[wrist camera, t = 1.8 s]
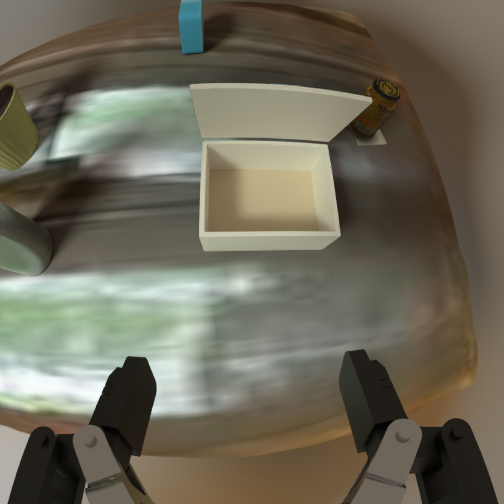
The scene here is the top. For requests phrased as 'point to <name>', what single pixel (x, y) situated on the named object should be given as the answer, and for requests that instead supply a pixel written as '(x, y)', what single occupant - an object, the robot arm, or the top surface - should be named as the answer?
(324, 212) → the box
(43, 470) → the robot arm
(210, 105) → the lid
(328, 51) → the top surface
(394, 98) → the condiment
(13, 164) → the potted cactus
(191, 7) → the data package
